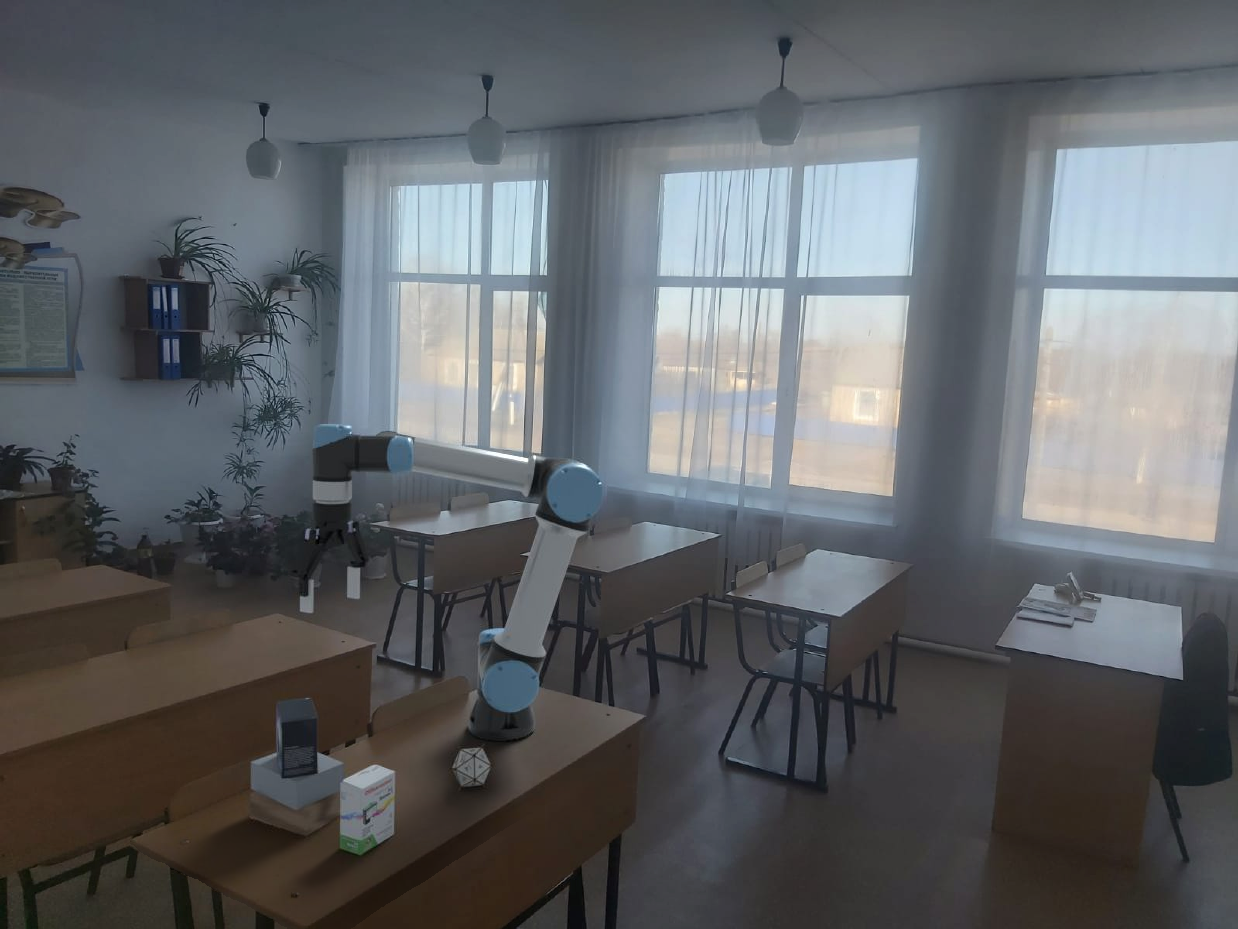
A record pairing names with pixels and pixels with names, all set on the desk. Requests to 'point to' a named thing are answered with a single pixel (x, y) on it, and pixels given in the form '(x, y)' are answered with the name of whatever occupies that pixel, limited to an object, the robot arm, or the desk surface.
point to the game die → (471, 767)
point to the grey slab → (296, 781)
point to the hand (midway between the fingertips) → (330, 604)
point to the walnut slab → (295, 813)
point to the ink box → (367, 809)
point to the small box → (296, 737)
